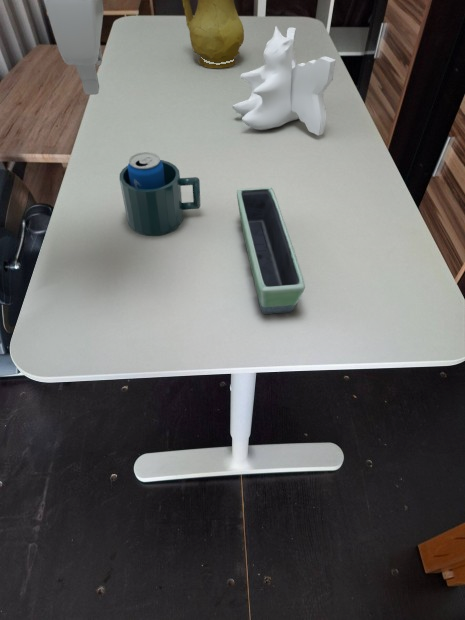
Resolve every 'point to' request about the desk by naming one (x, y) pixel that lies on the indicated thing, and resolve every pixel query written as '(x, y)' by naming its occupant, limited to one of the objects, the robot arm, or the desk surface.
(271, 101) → the white faceted figurine
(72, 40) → the robot arm
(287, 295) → the planter
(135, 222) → the teal faceted mug
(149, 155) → the beverage can
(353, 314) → the desk surface
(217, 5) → the pitcher
